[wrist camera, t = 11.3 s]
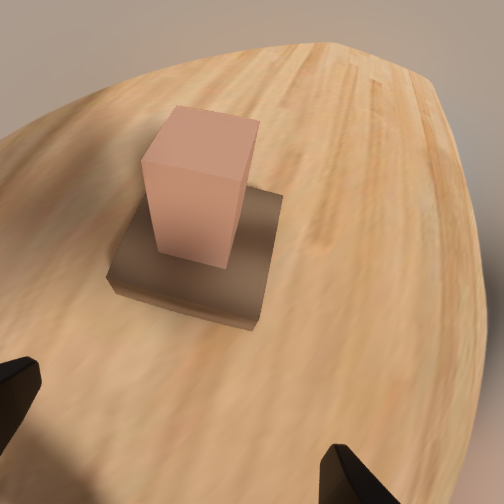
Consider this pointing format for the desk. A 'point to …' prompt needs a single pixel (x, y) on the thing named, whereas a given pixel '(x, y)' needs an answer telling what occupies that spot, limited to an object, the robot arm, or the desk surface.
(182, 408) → the desk surface
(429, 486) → the desk surface
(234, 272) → the walnut plinth
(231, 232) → the terracotta block
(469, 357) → the desk surface
